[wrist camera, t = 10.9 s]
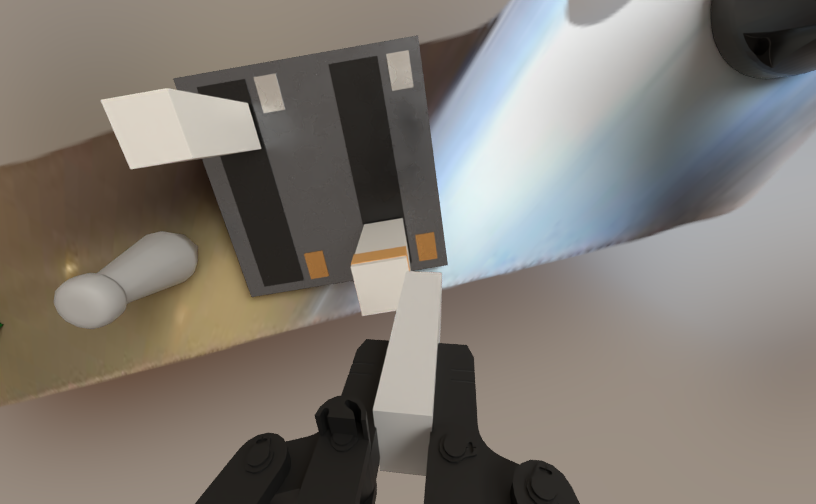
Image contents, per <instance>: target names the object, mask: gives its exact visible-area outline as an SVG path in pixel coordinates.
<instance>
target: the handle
mask: <svg viewBox="0 0 816 504" xmlns="http://www.w3.org/2000/svg"><path fill="white" fill-rule="evenodd" d="M351 271H352V275H353V279H354V283H355V288H356V292H357V296H358V300H359V304H360V309H361V313H362V316H366V315H372V314H378V313H384V312H390V311H397V307H398V303H399V299H400V295H401V291H402V286H403V282H404V278H405V274H406V271H411V268H410V260H409V252H408V247H407V241H406V235H405V229H404V223H403V218H400V219H394V220H388V221H382V222H376V223H370V224H364V227H363V230H362V233H361V236H360V239H359V242H358V246H357V249H356V252H355V254H354V255H353V258H352V262H351Z"/></svg>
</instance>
